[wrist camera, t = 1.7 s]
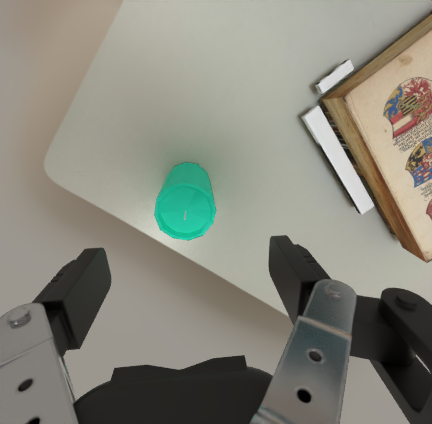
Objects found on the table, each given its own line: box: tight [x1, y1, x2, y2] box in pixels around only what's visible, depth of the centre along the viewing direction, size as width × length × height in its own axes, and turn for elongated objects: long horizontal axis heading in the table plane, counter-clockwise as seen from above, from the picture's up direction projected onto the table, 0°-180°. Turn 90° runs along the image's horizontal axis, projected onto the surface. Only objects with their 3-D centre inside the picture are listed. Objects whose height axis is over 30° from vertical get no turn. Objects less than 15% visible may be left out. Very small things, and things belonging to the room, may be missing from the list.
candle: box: [154, 162, 216, 241], centre depth 28 cm, size 6×6×12 cm
